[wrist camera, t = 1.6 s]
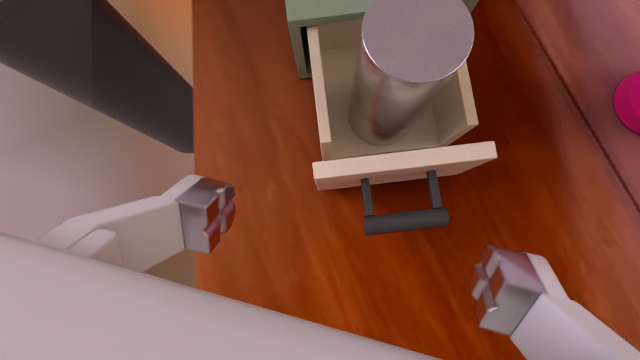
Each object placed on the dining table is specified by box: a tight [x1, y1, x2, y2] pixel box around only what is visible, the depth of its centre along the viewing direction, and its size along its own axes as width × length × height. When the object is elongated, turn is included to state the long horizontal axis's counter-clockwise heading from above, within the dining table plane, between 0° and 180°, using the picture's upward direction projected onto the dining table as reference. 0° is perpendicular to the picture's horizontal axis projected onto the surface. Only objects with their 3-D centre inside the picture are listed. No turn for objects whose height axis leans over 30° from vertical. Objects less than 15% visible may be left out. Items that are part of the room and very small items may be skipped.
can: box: [348, 0, 474, 146], centre depth 21 cm, size 6×6×12 cm
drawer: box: [306, 19, 497, 236], centre depth 25 cm, size 18×12×7 cm
